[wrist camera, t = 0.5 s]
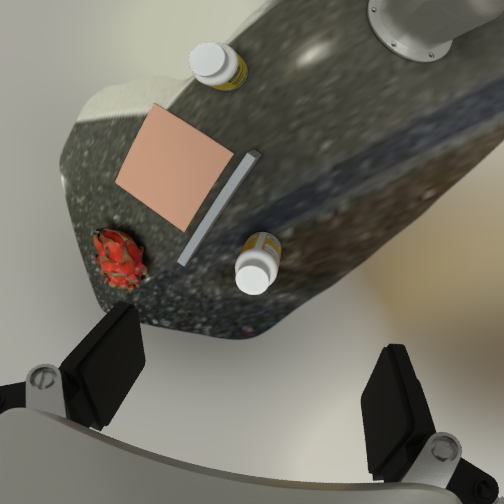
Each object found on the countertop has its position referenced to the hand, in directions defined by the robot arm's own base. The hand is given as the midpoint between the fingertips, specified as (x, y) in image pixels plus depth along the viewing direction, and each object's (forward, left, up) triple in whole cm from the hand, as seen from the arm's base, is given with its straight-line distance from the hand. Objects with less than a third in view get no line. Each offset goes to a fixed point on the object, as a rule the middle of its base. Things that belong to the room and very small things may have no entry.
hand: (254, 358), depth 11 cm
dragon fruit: (+25, -16, -33) cm, 44 cm away
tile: (+8, -16, -32) cm, 37 cm away
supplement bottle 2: (+10, +2, -33) cm, 34 cm away
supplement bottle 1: (-8, -16, -33) cm, 37 cm away
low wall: (+8, -6, -32) cm, 34 cm away
